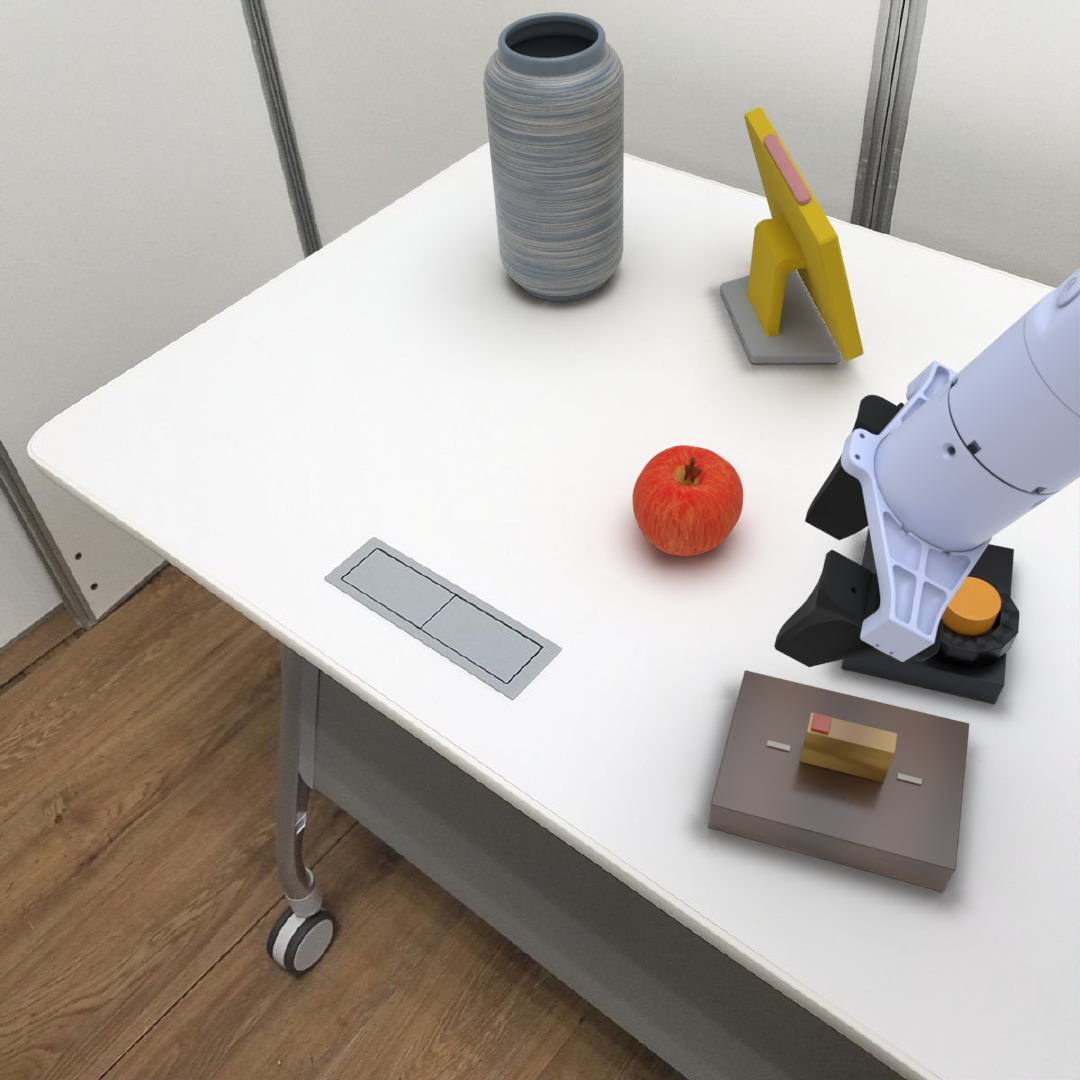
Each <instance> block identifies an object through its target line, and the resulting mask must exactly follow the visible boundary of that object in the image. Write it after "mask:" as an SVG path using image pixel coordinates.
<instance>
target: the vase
mask: <svg viewBox="0 0 1080 1080" xmlns="http://www.w3.org/2000/svg"><path fill="white" fill-rule="evenodd" d="M624 72H625V71H624V66H623V63H622V61H621V58H620V56H619V54H618V53H617V51H616V50H615V48H613V46H611V44H610V43H609V42H607V36H606V32H605V30H604V28H603V26H602V25H601V24H600V23H598V22H597V21H596V20H594V19H592V18H590V17H588V16H585V15H581V14H577V13H572V12H571V13H570V12H557V11H556V12H555V11H554V12H544V13H542V12H541V13H537V14H532V15H528V16H524V17H522V18H520V19H517V20H515V21H513V22H512V23H510V24H508V25H507V26H506V27H504V29H502V31H501V32H500V34H499V35H498V38H497V48H496V49H495V51H494V52H493V53H492V55H491V56H490V58H489V59H488V62H487V64H486V66H485V69H484V73H483V81H482V82H483V83H482V84H483V92H484V103H485V113H486V123H487V124H486V125H487V133H488V135H487V136H488V144H489V154H490V156H489V157H490V166H491V175H492V185H493V194H494V195H493V197H494V205H495V217H496V227H497V228H496V229H497V239H498V248H499V256H500V261H501V264H502V266H503V268H504V270H505V271H506V274H507V275H508V276H509V277H510V278H511V279H512V280H513V281H514V282H515V283H516V284H518V285H519V286H521V288H522V289H523V290H524V291H525V292H527V293H528V294H530V295H531V296H533V297H536V298H539V299H540V300H541V299H542V300H545V301H549V302H550V301H551V302H569V301H575V300H580V299H583V298H585V297H588V296H590V295H591V294H593V293H595V292H597V291H598V290H599V289H600V288H601V287H602V286H603V285H604V284H605V283H606V281H607V280H609V279H610V277H611V276H612V275H614V273H615V272H616V270H617V269H618V267H619V265H620V263H621V261H622V258H623V253H624V178H625V177H624V176H625V175H624V163H625V161H624V160H625V159H624V158H625V157H624V154H625V153H624V150H625V149H624V148H625V145H624V143H625V142H624V141H625V140H624V139H625V138H624V135H625V133H624V132H625V131H624V130H625V122H624V121H625V119H624V118H625V114H624V113H625V110H624V109H625V97H624V96H625V74H624Z"/></svg>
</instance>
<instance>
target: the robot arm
mask: <svg viewBox="0 0 1080 1080" xmlns="http://www.w3.org/2000/svg"><path fill="white" fill-rule="evenodd" d="M905 398H906V400H907V401H906V402H905V403H903V402H899V403H898V404H895V403H893V402H892V401H890V400H888V399H887V398H885V397H882V396H880V395H876V394H867V395H865V396H864V397H863V398H861V400H860V401H859V406H858V409H857V415H856V418H855V422H854V425H853V428H852V431H851V433H850V434H849V435H848V436H847V437H846V438H845V440H844V443H843V447H842V452H841V455H840V456H839V458H838V460H837V462H836V463H835V465H834V466H833V468H832V470H831V471H830V472H829V475H828V476H827V477H826V479H825V480H824V482H823V484H822V485H821V487H820V488H819V490H818V491H817V493H816V495H815V496H814V498H813V499H812V502H810V505H809V507H808V509H807V512H806V515H805V519H804V522H805V523H807V524H808V525H810V526H812V527H813V528H816V529H817V530H819V531H821V532H823V533H825V534H827V535H828V536H830V537H832V538H834V539H835V540H838V541H842V540H844V539H847V538H849V537H852V536H853V535H856V534H857V533H859V532H861V531H862V530H864V529H866V528H868V526H869V531H870V537H871V542H872V548H873V554H874V560H875V565H876V571H877V573H875V574H873V573H872V571H871V570H869V569H867V568H865V567H863V566H862V565H860V564H861V563H858V562H856V561H854V560H853V559H851V558H849V557H847V556H845V555H843V554H842V553H840V552H838V551H837V550H834V549H830V550H829V551H827V552H826V553H825V556H824V557H825V558H824V561H823V566H822V571H821V573H820V576H819V579H818V581H817V583H816V585H815V586H814V588H813V589H812V591H811V593H810V594H809V596H808V597H807V598H806V599H805V601H804V602H803V604H801V606H799V607H798V609H796V610H795V611H794V613H792V615H790V616H789V617H788V618H787V620H786V621H785V622H784V623H782V626H781V627H780V628H779V631H778V632H777V634H776V636H775V641H774V644H773V647H774V649H775V650H776V651H777V652H779V653H782V654H783V655H784V656H787V657H789V658H790V659H792V660H794V661H796V662H798V663H800V664H801V665H803V666H806V667H808V668H813V667H816V666H821V665H825V664H829V663H834V662H839V661H842V660H844V659H849V658H857V657H890V658H896V659H898V660H899V661H901V662H904V661H906V660H912V661H917V662H923V661H925V660H927V659H928V658H930V657H932V656H933V655H935V654H936V653H937V652H938V650H939V647H940V642H941V635H942V628H943V620H942V619H941V617H942V615H943V613H944V611H945V609H946V608H947V606H948V604H949V603H950V601H951V600H952V598H953V597H954V595H955V594H956V592H957V591H958V589H959V588H960V586H961V585H962V583H963V582H964V580H965V579H966V577H967V576H968V574H969V573H970V571H971V570H972V568H973V567H974V565H975V564H976V562H977V561H978V559H979V558H980V556H981V555H982V553H983V552H984V550H985V549H986V547H987V546H988V544H991V541H992V539H993V538H994V536H996V535H997V534H998V533H1000V532H1001V531H1003V530H1005V529H1006V528H1007V527H1009V526H1010V525H1011V524H1013V523H1015V522H1016V521H1018V520H1019V519H1021V518H1022V517H1024V516H1025V515H1027V514H1028V513H1029V512H1031V511H1033V510H1034V509H1035V508H1037V507H1038V506H1040V505H1041V504H1042V503H1044V502H1046V501H1047V500H1049V499H1050V498H1051V497H1053V496H1054V495H1056V494H1057V493H1059V492H1061V491H1062V490H1063V489H1064V488H1066V487H1067V486H1069V485H1071V484H1072V483H1073V482H1075V481H1077V480H1078V479H1079V478H1080V267H1079V268H1077V269H1076V270H1075V271H1074V272H1073V273H1071V275H1069V276H1068V277H1067V278H1066V279H1065V280H1063V281H1062V283H1060V284H1059V285H1058V286H1057V287H1056V288H1055V289H1053V290H1052V291H1050V292H1048V293H1047V294H1045V296H1044V297H1042V298H1041V299H1040V300H1039V301H1037V302H1036V304H1034V305H1033V306H1032V307H1031V308H1029V310H1028V311H1027V312H1025V313H1024V314H1023V315H1021V317H1020V318H1018V319H1017V320H1016V321H1015V322H1014V323H1013V324H1012V325H1010V327H1009V328H1007V329H1006V330H1005V331H1004V332H1002V334H1001V335H1000V336H998V337H997V338H996V339H995V340H994V341H993V342H991V344H989V345H988V346H987V347H986V348H985V349H984V350H982V351H981V352H980V353H979V354H978V355H977V356H975V357H974V359H972V360H971V361H970V362H968V363H967V364H966V365H965V367H963V368H962V369H961V370H960V371H959V372H956V371H954V370H953V369H951V368H949V367H948V366H946V365H944V364H942V363H941V362H939V361H938V360H933V361H931V363H930V364H929V365H927V367H925V368H924V369H923V370H922V371H921V372H920V373H919V374H918V375H917V376H916V377H914V378H913V380H911V381H910V382H909V383H908V384H907V389H906V394H905Z"/></svg>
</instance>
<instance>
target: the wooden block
mask: <svg viewBox="0 0 1080 1080" xmlns="http://www.w3.org/2000/svg"><path fill="white" fill-rule="evenodd" d="M897 735H898V734H897V733H894V732H890V731H885V730H881V729H877V728H873V727H869V726H865V725H861V724H857V723H853V722H849V721H844V720H840V719H836V718H832V717H829V716H825V715H821V714H817V713H811V714H810V718H809V722H808V726H807V730H806V734H805V738H804V742H803V747H802V752H801V756H800V762H804V763H808V764H812V765H816V766H820V767H823V768H827V769H831V770H835V771H839V772H843V773H847V774H851V775H855V776H859V777H863V778H867V779H870V780H874V781H878V782H882V783H884V781H885V778H886V775H887V773H888V770H889V767H890V765H891V762H892V759H893V757H894V754H895V749H896V742H897Z"/></svg>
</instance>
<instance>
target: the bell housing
mask: <svg viewBox="0 0 1080 1080" xmlns="http://www.w3.org/2000/svg"><path fill="white" fill-rule="evenodd" d="M1014 555H1015V549H1014V548H1011V547H1006V546H1001V545H996V544H991V543H989V544H988V546H987V547H986V549H985V550H984V552H983V553H982V555H981V556H980V558H979V559H978V561H977V562H976V564H975V565H974V567H973V568H972V570H971V571H970V573H969V574H968V576H967V577H974V578H978V579H981V580H983V581H985V582H987V583H989V584H990V585H991V586H992V587H994V589H995V590H996V591H997V592H998V594H999V596H1000V599H1001V608H1000V610H999V613H998V615H997V617H996V620H995V622H994V624H993V626H992V628H991V629H990V630H988V631H987V632H985V633H983V634H981V635H976V636H967V635H962V634H959V633H956V632H954V631H952V630H951V629H949V628H948V627H947V626H946V625H945V624H944V623H943V628H942V635H941V642H940V647H939V650H938V652H937V653H936V654H935V655H933V656H932V657H930V658H928V659H927V660H925V661H923V662H917V661H912V660H906V661H904V662H901V661H899V660H898V659H896V658H890V657H857V658H849V659H844V660H841V666H840V668H841V669H843V670H848V671H852V672H856V673H860V674H865V675H869V676H873V677H877V678H882V679H885V680H889V681H894V682H899V683H902V684H903V683H904V684H908V685H911V686H916V687H921V688H926V689H929V690H932V691H933V690H934V691H937V692H943V693H946V694H951V695H955V696H958V697H964V698H967V699H973V700H976V701H981V702H984V703H988V704H993V705H995V704H996V703H997V701H998V699H999V697H1000V695H1001V694H1002V691H1003V688H1004V687H1005V679H1006V667H1007V665H1006V664H1007V653H1008V652H1009V650H1011V649H1012V647H1013V644H1014V642H1015V641H1016V638H1017V636H1018V634H1019V630H1020V629H1019V628H1020V610H1019V608H1018V607H1017V605H1016V603H1015V602H1014V600H1013V598H1012V597H1011V596H1012V584H1013V571H1014V570H1013V569H1014V559H1015V558H1014ZM859 564H860V565H862V566H863V567H865V568H867V569H869V570H871V571H872V573H873V574H875V573H877V571H876V565H875V560H874V554H873V548H872V542H871V537H870V531H869V526H867V530H866V535H865V537H864V542H863V548H862V554H861V559H860V563H859Z"/></svg>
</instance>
